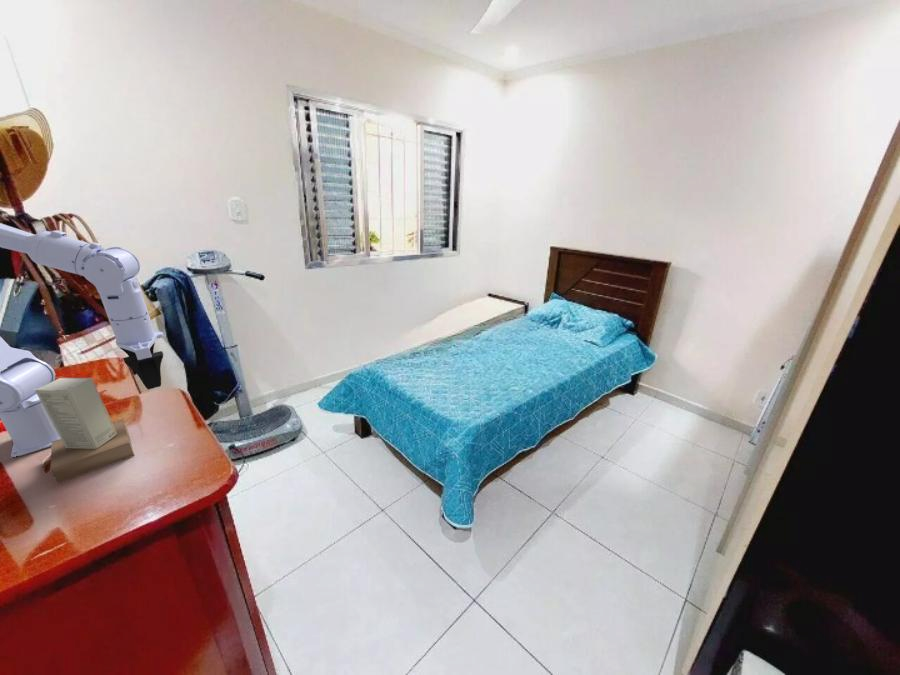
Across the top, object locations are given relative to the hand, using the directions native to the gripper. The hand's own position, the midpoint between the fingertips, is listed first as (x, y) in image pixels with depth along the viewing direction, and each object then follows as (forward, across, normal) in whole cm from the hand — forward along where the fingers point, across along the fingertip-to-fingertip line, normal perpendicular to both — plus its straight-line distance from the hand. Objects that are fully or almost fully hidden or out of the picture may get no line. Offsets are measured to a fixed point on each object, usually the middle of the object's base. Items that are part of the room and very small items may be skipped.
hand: (151, 380), depth 72 cm
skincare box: (+8, -3, +11) cm, 14 cm away
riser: (+10, -3, +11) cm, 15 cm away
